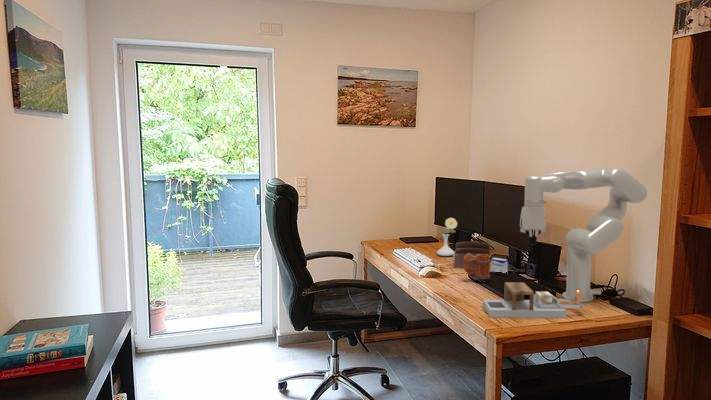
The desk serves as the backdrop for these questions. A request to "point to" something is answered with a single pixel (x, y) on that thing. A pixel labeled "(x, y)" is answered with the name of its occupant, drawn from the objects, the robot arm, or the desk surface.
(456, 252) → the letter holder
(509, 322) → the desk surface
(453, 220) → the flower in vase
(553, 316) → the track deck
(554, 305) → the sled
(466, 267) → the mug
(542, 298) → the block
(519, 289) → the tunnel
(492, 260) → the box
